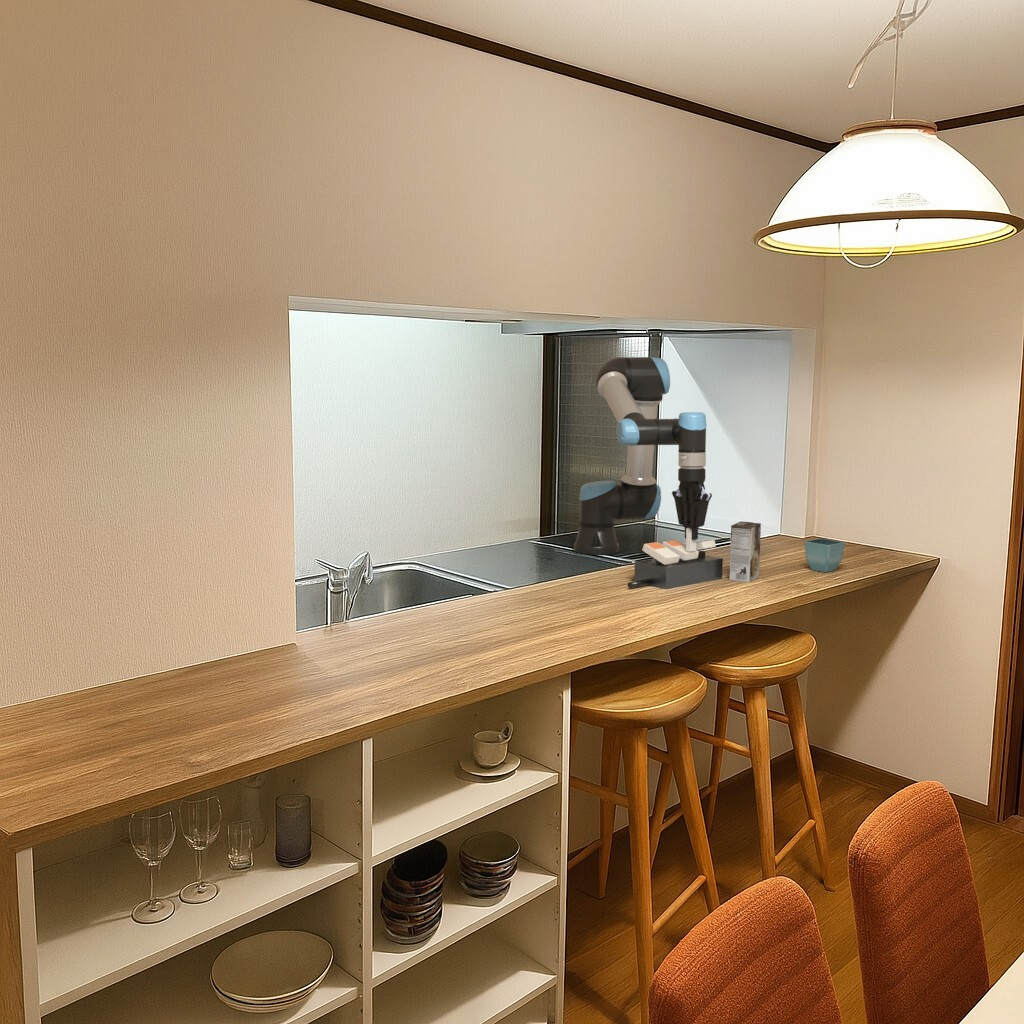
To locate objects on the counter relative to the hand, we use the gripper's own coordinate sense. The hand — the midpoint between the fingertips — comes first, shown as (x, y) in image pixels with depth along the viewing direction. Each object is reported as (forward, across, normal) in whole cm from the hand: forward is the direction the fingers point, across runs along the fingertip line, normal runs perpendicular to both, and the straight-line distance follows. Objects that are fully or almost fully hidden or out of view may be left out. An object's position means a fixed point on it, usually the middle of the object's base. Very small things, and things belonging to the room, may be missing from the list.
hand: (691, 550), depth 276 cm
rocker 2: (+1, -4, 0) cm, 5 cm away
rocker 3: (+1, -4, +8) cm, 9 cm away
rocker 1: (+1, -4, -8) cm, 9 cm away
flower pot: (+10, +12, +46) cm, 49 cm away
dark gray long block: (+9, -5, -4) cm, 11 cm away
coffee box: (+10, +5, +17) cm, 20 cm away
